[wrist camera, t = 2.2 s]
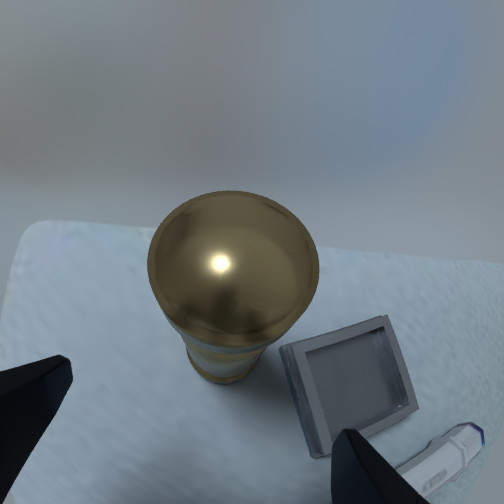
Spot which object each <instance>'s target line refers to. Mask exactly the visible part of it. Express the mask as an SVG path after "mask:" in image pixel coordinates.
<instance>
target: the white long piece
mask: <svg viewBox="0 0 504 504" xmlns="http://www.w3.org/2000/svg"><path fill="white" fill-rule="evenodd" d="M484 445H485V442H484V433H483V430H482V429H481V428H480V427H478V426H477V425H476V424H475V423H473V422H472V421H471V422H466V423H461V424H458V425H457V426H456V427H454V428H453V429H452V430H451V431H449V432H448V433H447V434H446V435H444V436H443V437H438V438H434V439H433V440H432V442H431V443H430V445H429V446H428V448H427V449H426V450H424V451H423V452H422V453H420V454H419V455H417V456H416V457H414V458H413V459H412V460H410V461H409V462H407V463H406V464H404V465H402V466H401V467H399V468H398V469H396V471H397V472H398V473H399V474H400V475H401V476H402V477H403V478H404V479H405V480H406V481H407V482H408V483H409V484H410V485H411V486H412V487H413V488H414V489H415V490H416V491H417V492H418V494H420V495H421V496H422V497H423V498H424V499H426V498H427V497H429V496H430V495H432V494H433V493H434V492H436V491H437V490H438V489H440V488H441V487H442V486H444V485H445V484H446V483H448V482H449V481H455V480H456V479H457V478H458V477H459V476H460V475H461V474H462V473H463V472H464V470H465V469H466V468H467V467H468V464H469V463H470V462H471V461H472V460H473V459H474V458H475V457H476V456H477V454H478V453H479V452H480V450H481V449H482V448H483V446H484Z"/></svg>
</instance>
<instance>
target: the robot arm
mask: <svg viewBox="0 0 504 504" xmlns="http://www.w3.org/2000/svg"><path fill="white" fill-rule="evenodd" d="M72 381H73V374H72V368H71V362H70V360H69V359H68V358H66V357H64V356H62V355H56V356H52V357H49V358H46V359H42V360H39V361H36V362H32V363H29V364H25V365H22V366H18V367H15V368H11V369H8V370H4V371H1V372H0V504H3V502H4V500H5V498H6V496H7V494H8V492H9V490H10V488H11V487H12V485H13V483H14V481H15V479H16V478H17V476H18V474H19V472H20V471H21V469H22V467H23V466H24V464H25V462H26V461H27V459H28V457H29V456H30V454H31V452H32V451H33V449H34V448H35V446H36V444H37V443H38V441H39V440H40V438H41V436H42V435H43V433H44V432H45V430H46V429H47V427H48V426H49V424H50V422H51V421H52V419H53V418H54V416H55V415H56V413H57V411H58V409H59V407H60V405H61V403H62V401H63V399H64V397H65V395H66V393H67V391H68V389H69V388H70V386H71V384H72ZM331 494H332V504H430V503H429V502H428V501H427V500H426V499H424V498H423V497H422V496H421V495H420V494H418V492H417V491H416V490H415V489H414V488H413V487H412V486H411V485H410V484H409V483H408V482H407V481H406V480H405V479H404V478H403V477H402V476H401V475H400V474H399V473H398V472H397V471H396V470H395V469H394V468H393V467H392V466H391V465H390V464H389V463H388V462H387V461H386V460H385V459H384V458H383V457H382V456H381V455H380V454H379V453H378V452H377V451H376V450H375V449H374V448H373V447H372V446H371V444H370V443H369V442H368V441H367V440H366V439H365V438H364V437H363V436H362V435H361V434H360V433H359V432H358V431H357V430H356V429H351V428H344V429H343V430H342V431H341V432H340V434H339V435H338V437H337V438H336V440H335V441H334V443H333V445H332V460H331Z"/></svg>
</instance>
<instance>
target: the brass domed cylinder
mask: <svg viewBox="0 0 504 504" xmlns="http://www.w3.org/2000/svg"><path fill="white" fill-rule="evenodd" d="M147 270H148V277H149V282H150V285H151V288H152V291H153V293H154V295H155V297H156V299H157V301H158V303H159V305H160V307H161V309H162V311H163V313H164V315H165V317H166V318H167V320H168V321H169V323H170V324H171V325H172V327H173V328H174V329H175V330H176V331H177V332H178V333H179V334H180V335H181V337H182V339H183V341H184V343H185V345H186V350H187V355H188V358H189V360H190V362H191V364H192V366H193V367H194V369H195V370H196V371H197V372H198V373H199V374H200V375H201V376H202V377H204V378H205V379H207V380H209V381H211V382H215V383H221V384H227V383H233V382H236V381H238V380H241V379H242V378H244V377H245V376H246V375H248V374H249V373H250V371H251V370H252V369H253V368H254V367H255V365H256V364H257V362H258V360H259V357H260V355H261V354H262V353H263V351H264V350H265V349H266V348H267V346H269V345H271V344H272V343H274V342H275V341H277V340H278V339H280V338H281V337H282V336H283V335H284V334H285V333H286V332H287V331H288V330H289V329H290V328H291V327H292V326H293V324H294V323H295V322H296V321H297V320H298V319H299V317H300V316H301V315H302V314H303V313H304V312H305V310H306V309H307V307H308V306H309V304H310V303H311V301H312V299H313V296H314V294H315V292H316V288H317V285H318V280H319V259H318V254H317V250H316V247H315V244H314V242H313V240H312V238H311V236H310V234H309V232H308V231H307V229H306V228H305V226H304V225H303V224H302V223H301V221H300V220H299V219H298V218H297V217H296V216H295V215H294V214H292V213H291V212H290V211H289V210H288V209H286V208H285V207H283V206H282V205H280V204H278V203H277V202H275V201H273V200H271V199H269V198H266V197H263V196H260V195H257V194H253V193H249V192H242V191H217V192H212V193H207V194H204V195H200V196H198V197H195V198H193V199H190V200H189V201H187V202H185V203H183V204H182V205H180V206H179V207H177V208H176V209H174V210H173V211H172V212H171V213H170V214H169V215H168V216H167V217H166V218H165V219H164V220H163V222H162V223H161V224H160V226H159V227H158V229H157V230H156V232H155V234H154V236H153V238H152V241H151V244H150V247H149V252H148V259H147Z"/></svg>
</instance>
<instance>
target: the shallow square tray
mask: <svg viewBox="0 0 504 504" xmlns="http://www.w3.org/2000/svg"><path fill="white" fill-rule="evenodd" d="M279 351H280V354H281V358H282V361H283V365H284V368H285V371H286V375H287V378H288V382H289V385H290V388H291V392H292V395H293V398H294V402H295V405H296V408H297V412H298V415H299V419H300V422H301V425H302V429H303V432H304V435H305V439H306V442H307V446H308V449H309V452H310V456H311V457H313V458H315V459H316V458H318V457H321V456H326V455H328V454H331V453H332V445H333V443H334V441H335V440H336V438H337V437H338V435H339V434H340V432H341V431H342V430H343V429H344V428H351V429H356V430H357V431H358V432H359V433H360V434H361V435H362V436H363V437H364V438H367V437H369V436H371V435H373V434H375V433H377V432H379V431H381V430H383V429H385V428H386V427H388V426H390V425H392V424H394V423H396V422H397V421H399V420H401V419H403V418H404V417H406V416H408V415H409V414H411V413H413V412H414V411H416V410H418V409H419V407H418V403H417V400H416V396H415V393H414V389H413V386H412V383H411V380H410V377H409V373H408V370H407V367H406V364H405V361H404V358H403V355H402V353H401V350H400V347H399V344H398V341H397V338H396V336H395V333H394V330H393V328H392V325H391V322H390V320H389V317H388V315H384V316H381V315H380V316H377V317H374V318H372V319H369V320H366V321H363V322H360V323H357V324H354V325H351V326H348V327H345V328H341V329H338V330H335V331H332V332H328V333H325V334H322V335H318V336H315V337H311V338H308V339H304V340H301V341H297V342H293V343H290V344H286V345H282V346H281V347H280V348H279Z"/></svg>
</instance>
